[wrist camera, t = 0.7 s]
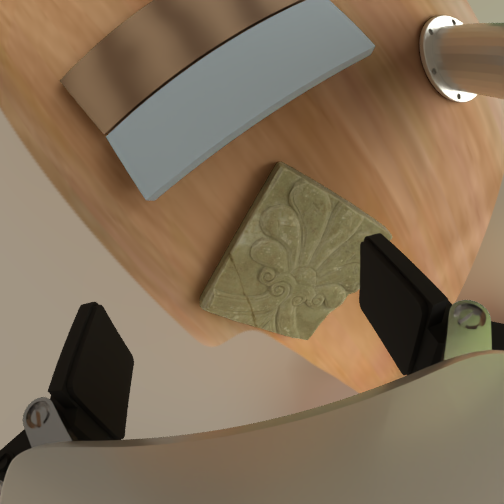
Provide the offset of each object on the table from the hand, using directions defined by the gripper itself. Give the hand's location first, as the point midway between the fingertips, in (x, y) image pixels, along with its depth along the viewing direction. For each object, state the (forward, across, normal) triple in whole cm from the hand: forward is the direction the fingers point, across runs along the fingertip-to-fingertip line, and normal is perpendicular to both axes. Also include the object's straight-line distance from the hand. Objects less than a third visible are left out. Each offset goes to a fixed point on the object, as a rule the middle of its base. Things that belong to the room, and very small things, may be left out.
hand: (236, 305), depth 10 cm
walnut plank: (+24, 0, -15) cm, 28 cm away
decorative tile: (+25, -7, +15) cm, 30 cm away
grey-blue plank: (+22, -4, -7) cm, 23 cm away
